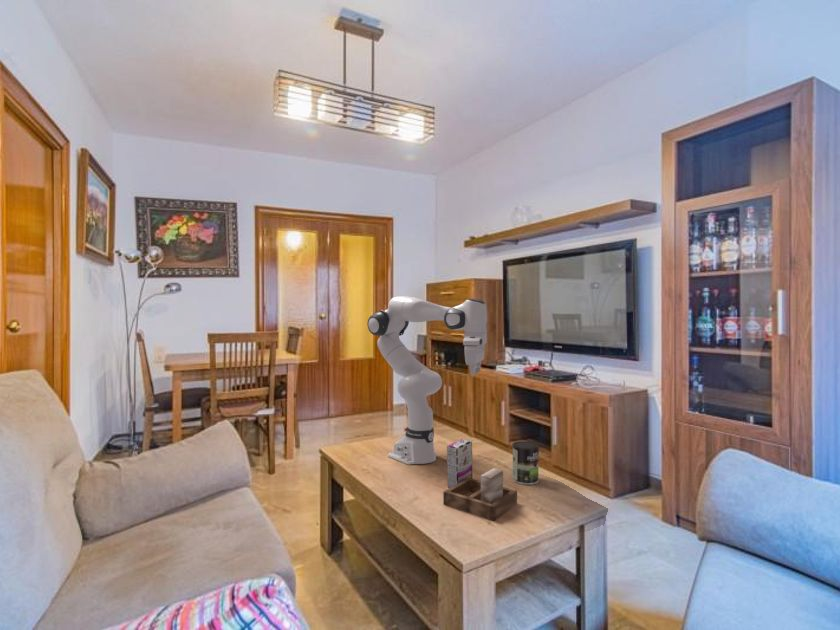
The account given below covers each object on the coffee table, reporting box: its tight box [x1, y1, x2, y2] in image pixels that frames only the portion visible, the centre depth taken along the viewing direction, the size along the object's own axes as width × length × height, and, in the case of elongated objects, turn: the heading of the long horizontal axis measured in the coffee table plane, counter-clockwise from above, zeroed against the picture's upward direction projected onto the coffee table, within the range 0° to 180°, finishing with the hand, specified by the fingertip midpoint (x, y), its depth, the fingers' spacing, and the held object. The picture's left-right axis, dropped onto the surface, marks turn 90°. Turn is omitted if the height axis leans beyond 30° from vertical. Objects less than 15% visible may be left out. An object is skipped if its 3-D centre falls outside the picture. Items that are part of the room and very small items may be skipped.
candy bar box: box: [446, 438, 473, 489], centre depth 180 cm, size 11×5×16 cm, turn 143°
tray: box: [442, 467, 518, 522], centre depth 163 cm, size 20×17×12 cm
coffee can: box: [511, 440, 540, 486], centre depth 185 cm, size 10×10×14 cm
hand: (475, 373), depth 187 cm, fingers open, 8 cm apart
